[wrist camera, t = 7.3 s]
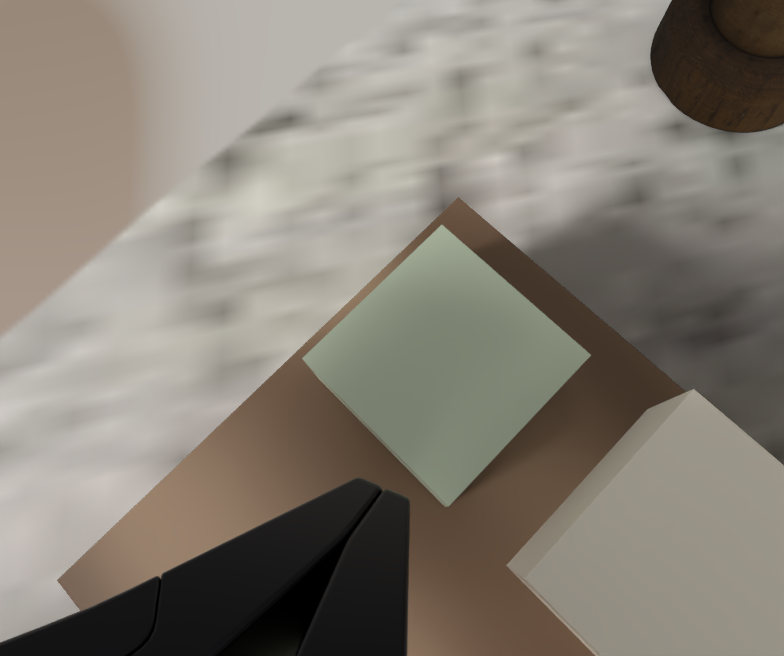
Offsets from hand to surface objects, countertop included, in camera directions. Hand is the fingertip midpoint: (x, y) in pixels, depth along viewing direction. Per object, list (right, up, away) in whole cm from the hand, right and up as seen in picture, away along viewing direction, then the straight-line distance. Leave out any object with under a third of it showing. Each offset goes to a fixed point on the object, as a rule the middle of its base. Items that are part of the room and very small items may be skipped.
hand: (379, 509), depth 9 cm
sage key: (+1, +1, +7) cm, 7 cm away
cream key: (+6, -2, +3) cm, 7 cm away
